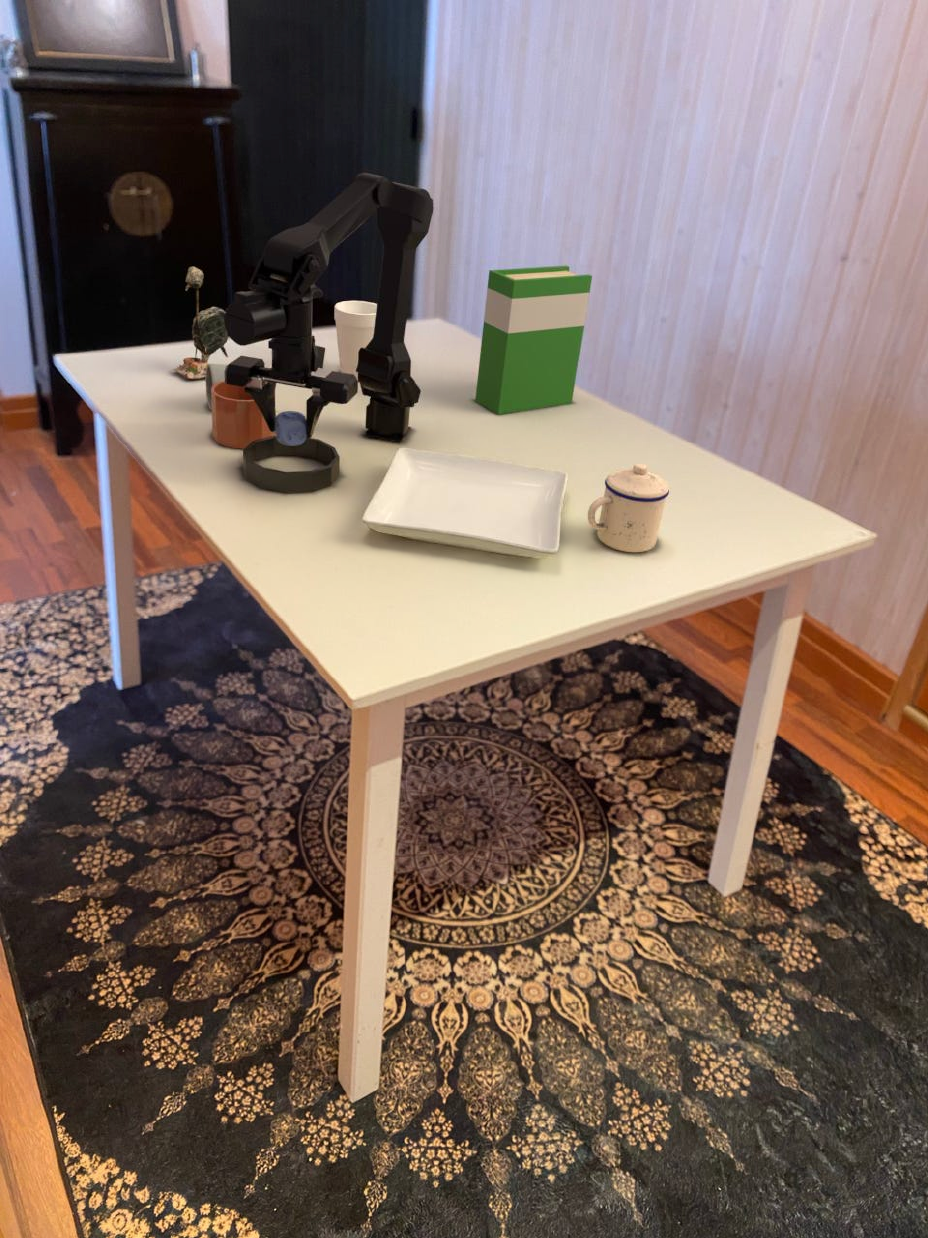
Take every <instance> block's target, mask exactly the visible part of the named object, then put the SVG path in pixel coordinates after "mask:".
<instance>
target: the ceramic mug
mask: <svg viewBox="0 0 928 1238" xmlns="http://www.w3.org/2000/svg"><path fill="white" fill-rule="evenodd" d="M227 365H228V364H221V363H220V364H219V363H208V366H207V368H206V377H205V395H206V401H207V406H208V408H209V410H211V411H212V404H211V387H212V386H213V385H215V384H216V383H218V382H222V381H225V368H226V366H227Z"/></svg>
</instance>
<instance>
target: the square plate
mask: <svg viewBox="0 0 928 1238" xmlns="http://www.w3.org/2000/svg"><path fill="white" fill-rule="evenodd" d="M568 479H569V475H568V473H567V472H565V471H563V470H557V469H550V468H545V467H544V468H543V467H539V466H533V465H526V464H521V463H516V462H512V461H511V462H510V461H506V460H505V461H504V460H498V459H493V458H492V459H491V458H486V457H485V458H484V457H478V456H473V455H472V456H471V455H465V454H458V453H451V452H449V453H448V452H442V451H434V450H425V449H419V448H411V447H399V448H398V449H397V450H396V452H395V453H394V455H393V458H392V459H391V462H390V464H389V467H388V468H387V471H386V473H385V475H384V477H383V479H382V480H381V483H380V484H379V486H378V488H377V489H376V492H375V493H374V494H373V497H372V498H371V500H370V502H369V504H368V505H367V507H366V509H365V511H364V513H363V515H362V517H361V522H363V523H364V524H365V525H366V526H367V527H368V528H370V529H372V530H373V531H376V532H379V533H383V534H387V535H393V536H399V537H404V538H406V539H409V540H414V541H419V542H424V543H432V544H438V545H444V546H451V547H457V548H465V549H469V550H476V551H482V552H487V553H494V554H499V555H505V556H519V557H526V558H533V559H545V558H549V557H552V556H553V555H556V554H557V553H558V552H559V548H560V541H561V538H560V536H561V525H562V524H561V523H562V513H563V512H562V511H563V504H564V499H565V494H566V490H567V485H568V481H569V480H568Z"/></svg>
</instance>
